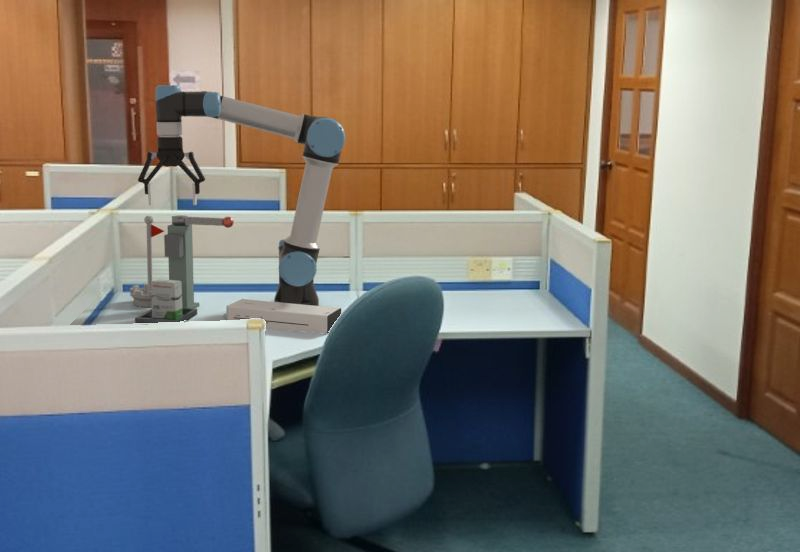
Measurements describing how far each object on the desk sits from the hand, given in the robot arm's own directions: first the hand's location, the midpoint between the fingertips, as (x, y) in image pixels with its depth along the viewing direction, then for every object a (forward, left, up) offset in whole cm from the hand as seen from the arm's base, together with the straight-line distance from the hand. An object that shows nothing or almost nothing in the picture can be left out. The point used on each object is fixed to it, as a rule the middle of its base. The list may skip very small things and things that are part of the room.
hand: (172, 204), depth 289 cm
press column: (+3, -10, -36) cm, 38 cm away
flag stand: (+16, -16, -36) cm, 43 cm away
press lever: (-5, -12, -8) cm, 15 cm away
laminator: (-36, +1, -37) cm, 52 cm away
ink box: (+2, +3, -36) cm, 36 cm away
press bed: (+2, +3, -36) cm, 36 cm away
